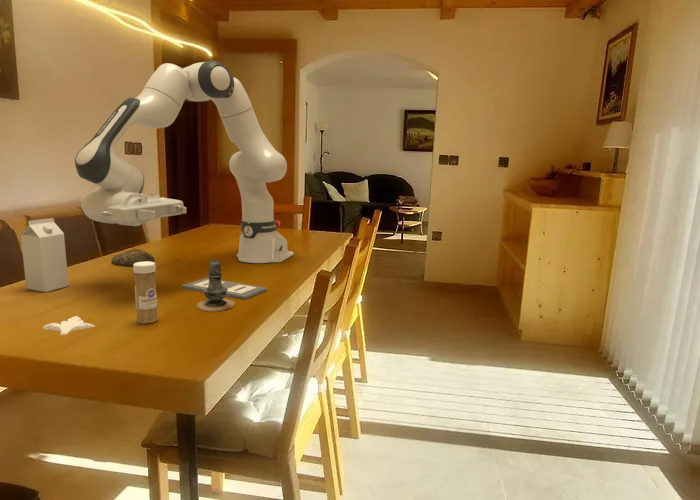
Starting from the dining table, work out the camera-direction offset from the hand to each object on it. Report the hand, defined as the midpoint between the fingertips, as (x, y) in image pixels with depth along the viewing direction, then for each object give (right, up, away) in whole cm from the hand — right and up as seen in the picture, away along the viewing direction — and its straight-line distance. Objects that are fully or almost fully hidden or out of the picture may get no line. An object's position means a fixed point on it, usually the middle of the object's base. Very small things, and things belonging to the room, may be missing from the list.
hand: (170, 212), depth 122 cm
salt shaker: (+12, -23, -2) cm, 26 cm away
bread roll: (-29, -14, +43) cm, 54 cm away
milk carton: (-38, -20, +10) cm, 44 cm away
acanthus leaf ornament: (-15, -27, -19) cm, 36 cm away
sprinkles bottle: (0, -26, -13) cm, 29 cm away
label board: (+10, -21, +13) cm, 27 cm away
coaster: (+12, -24, -2) cm, 26 cm away
